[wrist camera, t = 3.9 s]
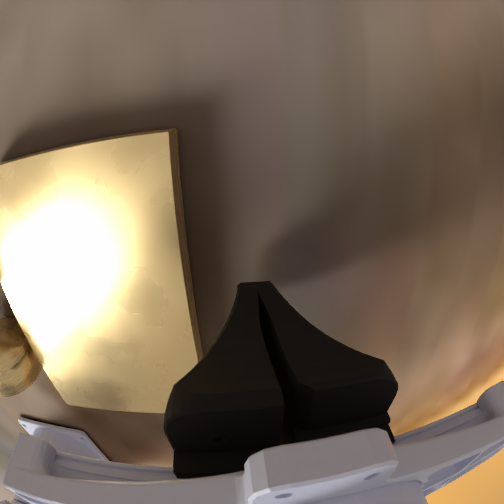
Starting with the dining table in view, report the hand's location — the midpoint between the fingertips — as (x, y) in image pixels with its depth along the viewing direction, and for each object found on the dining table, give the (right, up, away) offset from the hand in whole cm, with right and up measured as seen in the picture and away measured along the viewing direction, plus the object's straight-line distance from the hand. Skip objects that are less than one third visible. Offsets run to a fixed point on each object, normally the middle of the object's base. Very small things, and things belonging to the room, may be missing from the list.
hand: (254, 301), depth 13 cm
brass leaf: (-10, 0, 0) cm, 10 cm away
